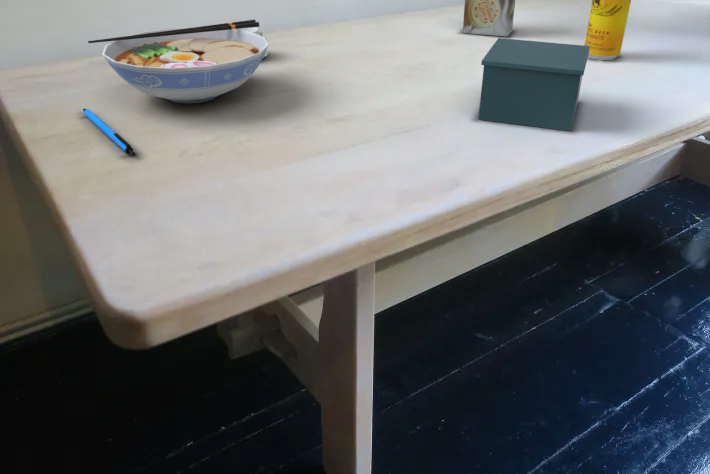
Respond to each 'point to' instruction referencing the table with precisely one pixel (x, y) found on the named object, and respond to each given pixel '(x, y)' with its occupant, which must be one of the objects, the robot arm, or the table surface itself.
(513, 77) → the teal box
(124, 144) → the pen
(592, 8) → the beer can
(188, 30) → the ramen bowl
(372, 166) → the table surface
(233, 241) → the table surface
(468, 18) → the coffee box
